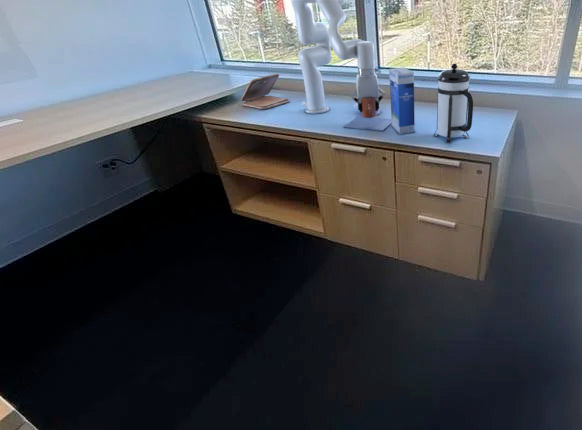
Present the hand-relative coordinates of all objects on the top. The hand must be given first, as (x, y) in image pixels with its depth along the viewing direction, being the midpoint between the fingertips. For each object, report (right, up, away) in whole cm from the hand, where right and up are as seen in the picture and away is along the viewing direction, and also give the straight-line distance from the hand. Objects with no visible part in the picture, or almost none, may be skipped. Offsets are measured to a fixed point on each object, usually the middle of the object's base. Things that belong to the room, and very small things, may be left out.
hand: (368, 110), depth 179 cm
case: (-63, +16, +42) cm, 77 cm away
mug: (0, -3, 0) cm, 3 cm away
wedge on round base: (-2, +4, +20) cm, 21 cm away
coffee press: (+38, -16, -15) cm, 44 cm away
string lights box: (+16, -10, -4) cm, 19 cm away
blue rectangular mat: (0, -5, +4) cm, 7 cm away
